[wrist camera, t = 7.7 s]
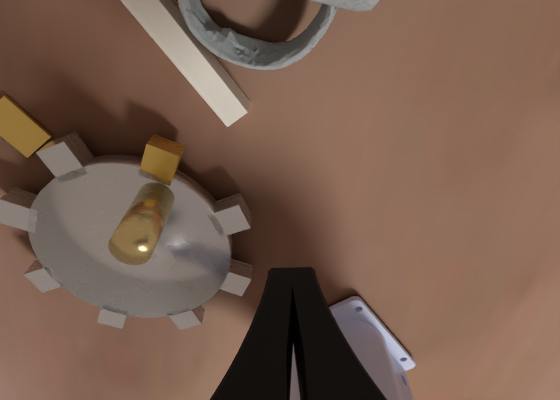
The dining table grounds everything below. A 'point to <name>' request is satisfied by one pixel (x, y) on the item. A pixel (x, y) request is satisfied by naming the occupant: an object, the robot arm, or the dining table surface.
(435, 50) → the dining table surface
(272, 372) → the robot arm
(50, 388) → the dining table surface
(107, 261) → the sprocket
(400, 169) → the dining table surface
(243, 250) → the dining table surface
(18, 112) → the yellow wooden brick
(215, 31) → the ceramic mug
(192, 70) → the bay
